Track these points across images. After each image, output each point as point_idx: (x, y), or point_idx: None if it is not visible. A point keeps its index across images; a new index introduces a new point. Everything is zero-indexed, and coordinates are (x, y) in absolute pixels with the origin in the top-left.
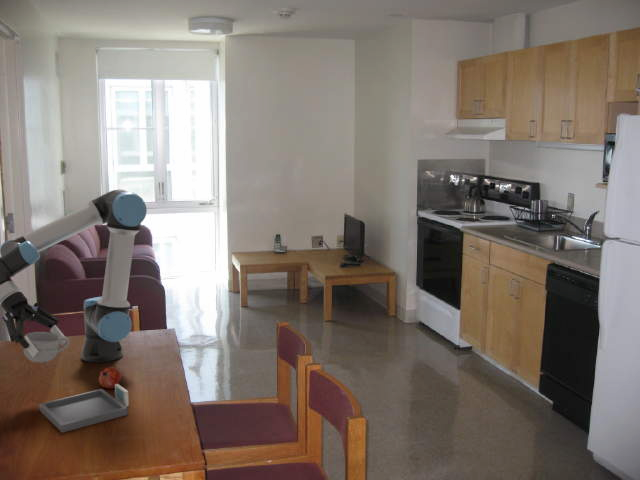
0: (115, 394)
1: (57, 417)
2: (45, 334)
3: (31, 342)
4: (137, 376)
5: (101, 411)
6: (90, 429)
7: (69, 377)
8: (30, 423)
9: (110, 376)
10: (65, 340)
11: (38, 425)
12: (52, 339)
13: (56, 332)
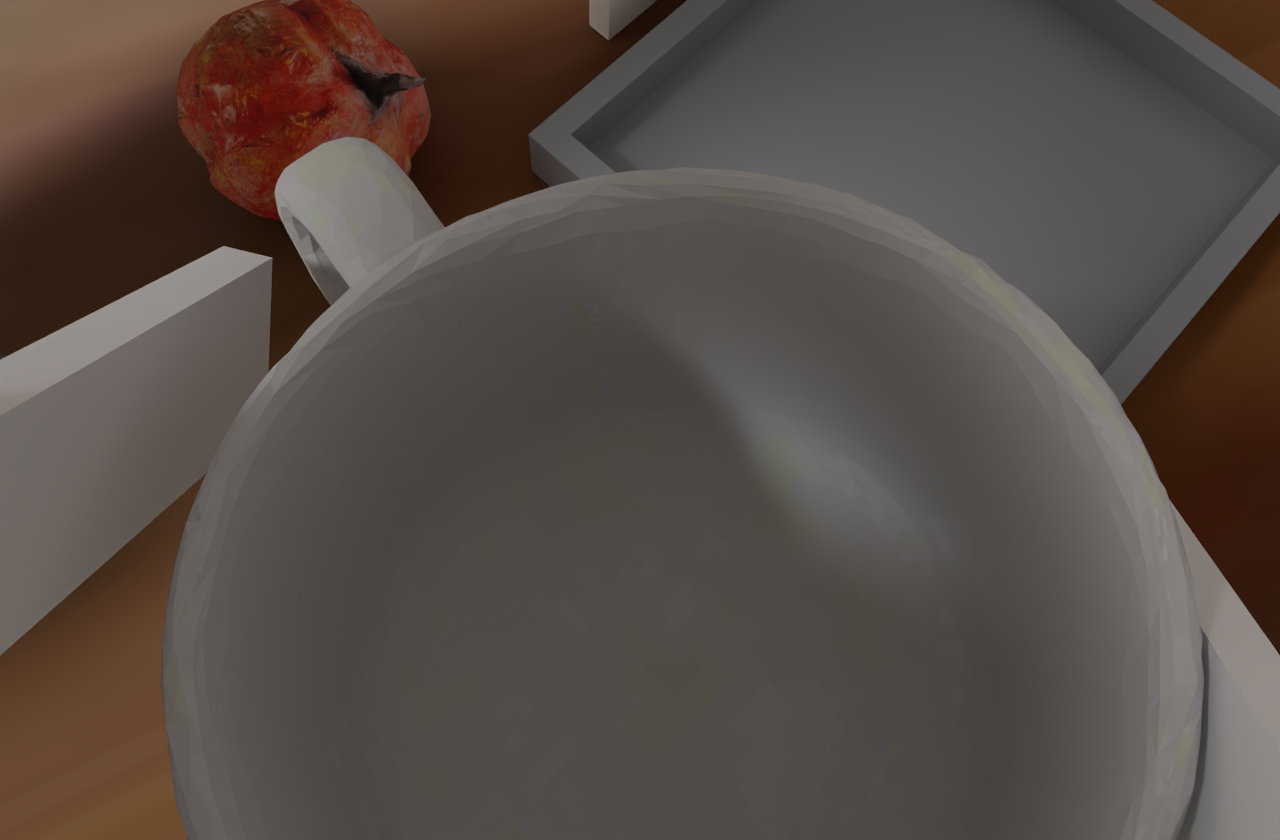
0: (613, 5)
1: (1225, 230)
2: (228, 715)
3: (1196, 609)
4: (45, 44)
5: (906, 29)
6: (1180, 11)
7: (40, 709)
8: (1244, 495)
9: (386, 47)
10: (267, 270)
11: (1254, 406)
12: (307, 524)
13: (96, 443)
